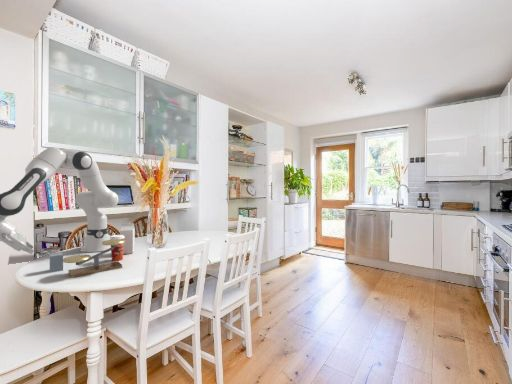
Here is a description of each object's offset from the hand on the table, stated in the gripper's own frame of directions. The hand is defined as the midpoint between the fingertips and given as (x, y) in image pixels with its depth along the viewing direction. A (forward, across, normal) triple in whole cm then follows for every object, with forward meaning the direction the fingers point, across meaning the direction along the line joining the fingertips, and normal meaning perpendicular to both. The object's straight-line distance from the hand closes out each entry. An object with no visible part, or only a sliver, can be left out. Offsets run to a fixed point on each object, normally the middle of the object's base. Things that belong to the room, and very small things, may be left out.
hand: (32, 250), depth 120 cm
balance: (+25, -13, -9) cm, 30 cm away
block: (+15, 0, +2) cm, 15 cm away
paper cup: (+35, 0, -18) cm, 39 cm away
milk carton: (+41, +12, -24) cm, 49 cm away
